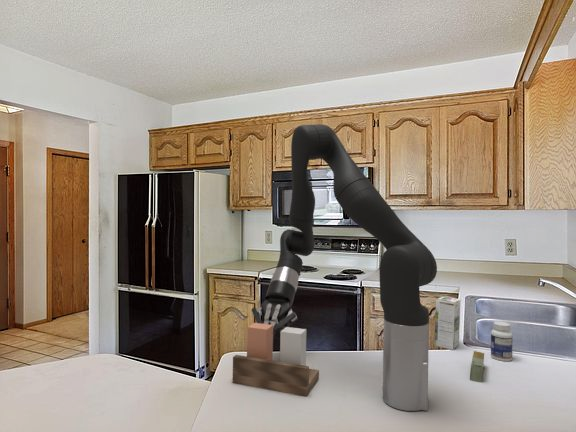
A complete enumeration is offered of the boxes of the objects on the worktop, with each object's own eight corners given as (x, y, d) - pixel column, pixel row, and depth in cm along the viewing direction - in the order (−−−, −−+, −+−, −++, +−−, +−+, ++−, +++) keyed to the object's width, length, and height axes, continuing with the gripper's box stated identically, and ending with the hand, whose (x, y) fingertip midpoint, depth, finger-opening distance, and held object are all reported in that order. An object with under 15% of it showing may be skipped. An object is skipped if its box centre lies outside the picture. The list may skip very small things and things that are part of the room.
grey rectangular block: (305, 371, 92) (306, 329, 92) (300, 378, 88) (301, 334, 88) (285, 368, 93) (286, 326, 93) (279, 374, 89) (280, 331, 89)
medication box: (482, 383, 93) (482, 367, 93) (469, 381, 94) (470, 364, 94) (483, 367, 103) (484, 352, 103) (472, 364, 104) (473, 349, 104)
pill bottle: (492, 353, 113) (492, 319, 113) (513, 357, 110) (514, 323, 110) (489, 358, 109) (489, 323, 109) (511, 363, 105) (511, 327, 105)
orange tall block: (272, 366, 95) (273, 325, 95) (265, 372, 91) (266, 329, 91) (253, 363, 96) (254, 322, 96) (246, 368, 93) (247, 327, 92)
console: (318, 378, 93) (319, 353, 93) (306, 396, 84) (306, 368, 84) (251, 367, 100) (251, 343, 100) (232, 382, 90) (232, 356, 90)
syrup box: (440, 341, 123) (441, 295, 123) (459, 345, 119) (460, 298, 119) (433, 346, 118) (434, 298, 118) (454, 350, 115) (455, 301, 115)
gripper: (257, 277, 107) (235, 334, 96) (302, 281, 103) (285, 341, 91) (264, 293, 112) (244, 348, 101) (308, 297, 108) (293, 356, 96)
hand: (264, 345), depth 96 cm, fingers closed
